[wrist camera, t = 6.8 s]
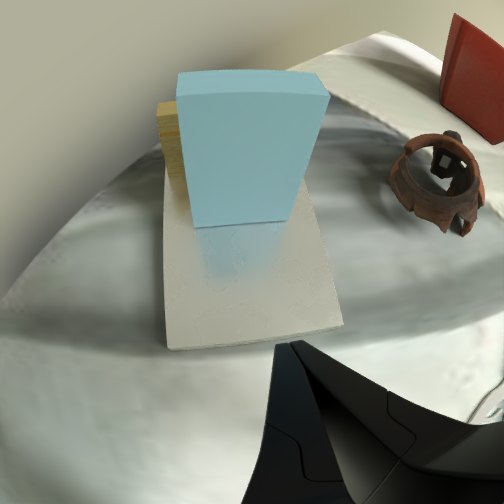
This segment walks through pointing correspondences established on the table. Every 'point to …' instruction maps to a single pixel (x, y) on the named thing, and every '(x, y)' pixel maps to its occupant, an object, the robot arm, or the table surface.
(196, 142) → the clip bar
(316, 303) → the block holder base
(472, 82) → the plant pot
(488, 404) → the pliers
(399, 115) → the table surface
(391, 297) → the table surface
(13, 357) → the table surface
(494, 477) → the robot arm
